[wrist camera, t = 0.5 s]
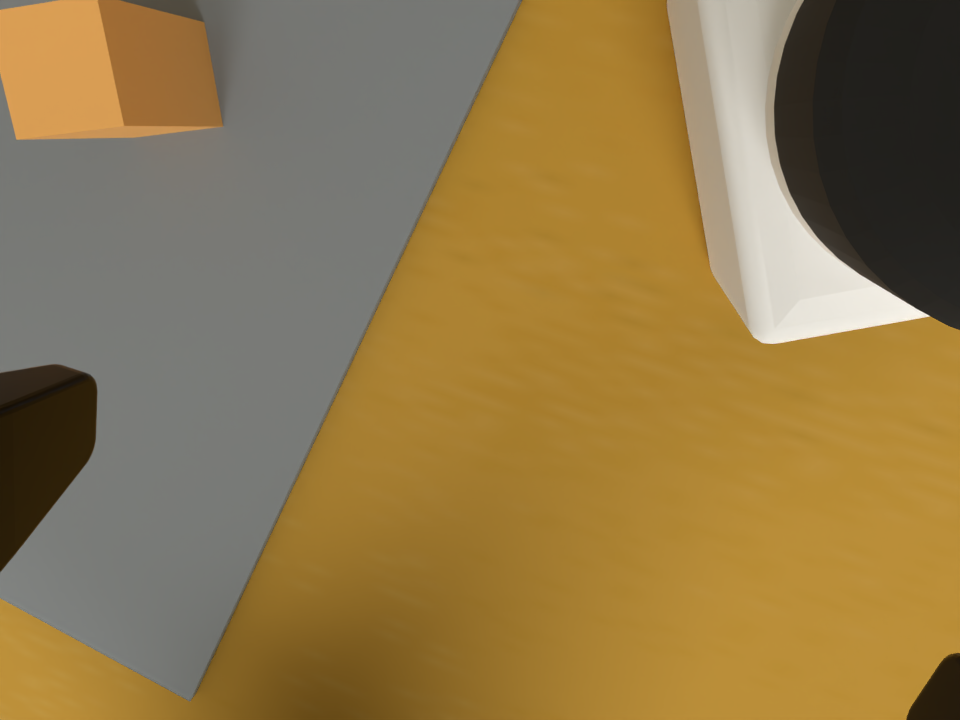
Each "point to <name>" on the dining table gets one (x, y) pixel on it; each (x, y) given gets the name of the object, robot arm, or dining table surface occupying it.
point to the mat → (219, 298)
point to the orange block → (105, 71)
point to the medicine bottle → (826, 158)
